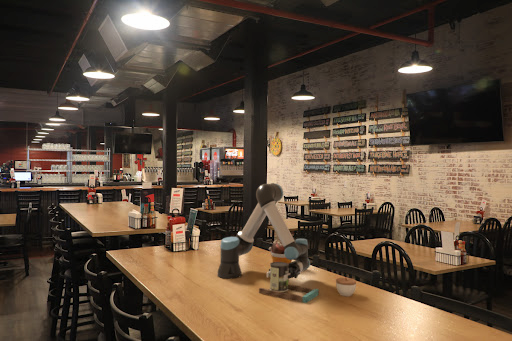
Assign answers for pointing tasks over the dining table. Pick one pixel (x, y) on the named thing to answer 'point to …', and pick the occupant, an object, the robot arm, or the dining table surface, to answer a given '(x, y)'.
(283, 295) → the guide rails
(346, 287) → the lidded jar
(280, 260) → the bucket of meat
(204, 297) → the dining table surface
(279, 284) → the coffee can
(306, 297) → the bar
